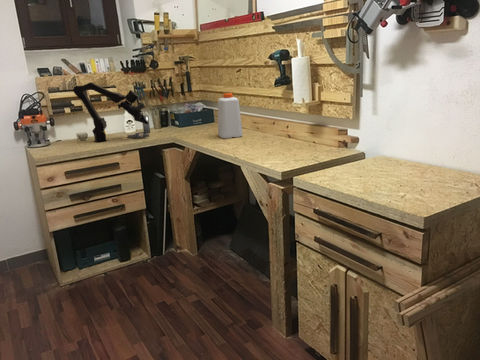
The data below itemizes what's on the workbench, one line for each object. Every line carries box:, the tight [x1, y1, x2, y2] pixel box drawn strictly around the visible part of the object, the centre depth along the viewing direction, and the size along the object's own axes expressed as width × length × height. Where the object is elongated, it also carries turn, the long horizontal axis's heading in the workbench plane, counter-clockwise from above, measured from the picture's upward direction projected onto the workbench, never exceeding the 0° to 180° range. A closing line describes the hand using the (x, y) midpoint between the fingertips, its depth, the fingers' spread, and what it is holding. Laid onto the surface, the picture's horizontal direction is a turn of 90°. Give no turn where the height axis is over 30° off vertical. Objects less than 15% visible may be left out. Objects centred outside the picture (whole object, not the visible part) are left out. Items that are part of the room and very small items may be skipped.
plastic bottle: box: [217, 92, 244, 139], centre depth 261 cm, size 15×15×28 cm
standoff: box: [142, 114, 151, 134], centre depth 269 cm, size 4×4×12 cm
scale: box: [126, 131, 150, 140], centre depth 278 cm, size 11×13×4 cm
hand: (148, 123), depth 269 cm, fingers closed on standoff, 4 cm apart
